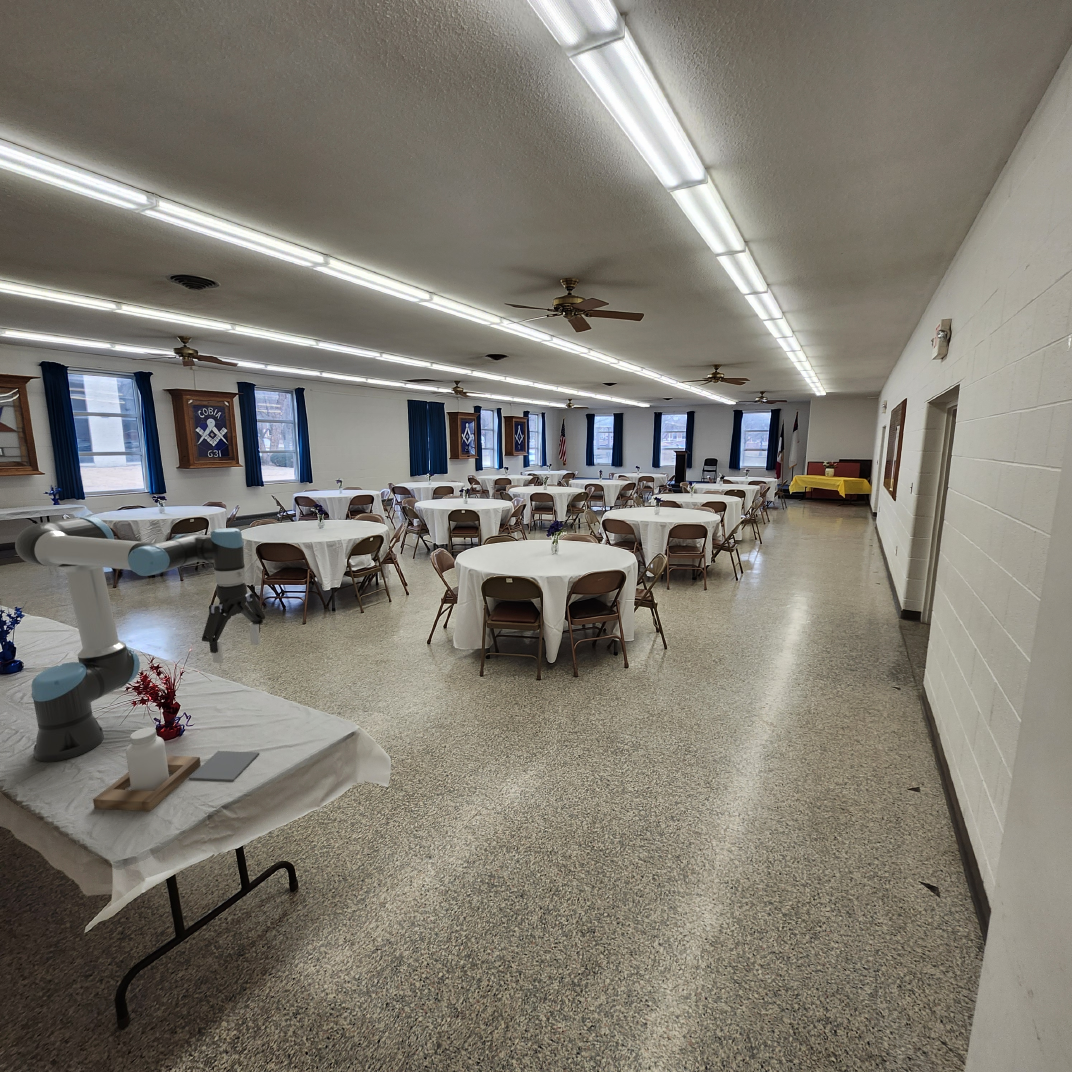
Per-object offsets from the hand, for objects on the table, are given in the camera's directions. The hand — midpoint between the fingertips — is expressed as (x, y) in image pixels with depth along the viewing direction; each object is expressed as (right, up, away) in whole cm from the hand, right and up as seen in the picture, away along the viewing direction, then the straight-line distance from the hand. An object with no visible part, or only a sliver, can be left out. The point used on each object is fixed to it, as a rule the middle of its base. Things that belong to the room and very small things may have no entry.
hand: (237, 653), depth 154 cm
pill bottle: (-12, -30, -18) cm, 37 cm away
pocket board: (-12, -30, -18) cm, 37 cm away
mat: (+2, -29, -10) cm, 30 cm away
